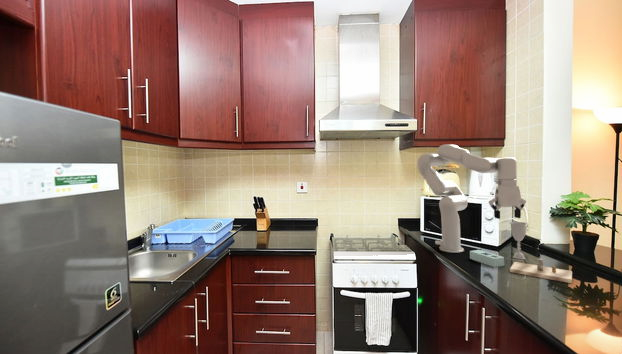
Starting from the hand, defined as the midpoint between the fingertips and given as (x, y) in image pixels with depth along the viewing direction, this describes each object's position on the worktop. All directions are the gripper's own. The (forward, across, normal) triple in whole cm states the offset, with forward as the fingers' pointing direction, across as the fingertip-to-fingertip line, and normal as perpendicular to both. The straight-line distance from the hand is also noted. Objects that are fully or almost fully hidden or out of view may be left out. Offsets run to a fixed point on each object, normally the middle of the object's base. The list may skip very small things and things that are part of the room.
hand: (507, 218), depth 134 cm
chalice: (+22, +11, +7) cm, 26 cm away
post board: (+22, +4, -14) cm, 26 cm away
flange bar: (+22, -9, +2) cm, 24 cm away
